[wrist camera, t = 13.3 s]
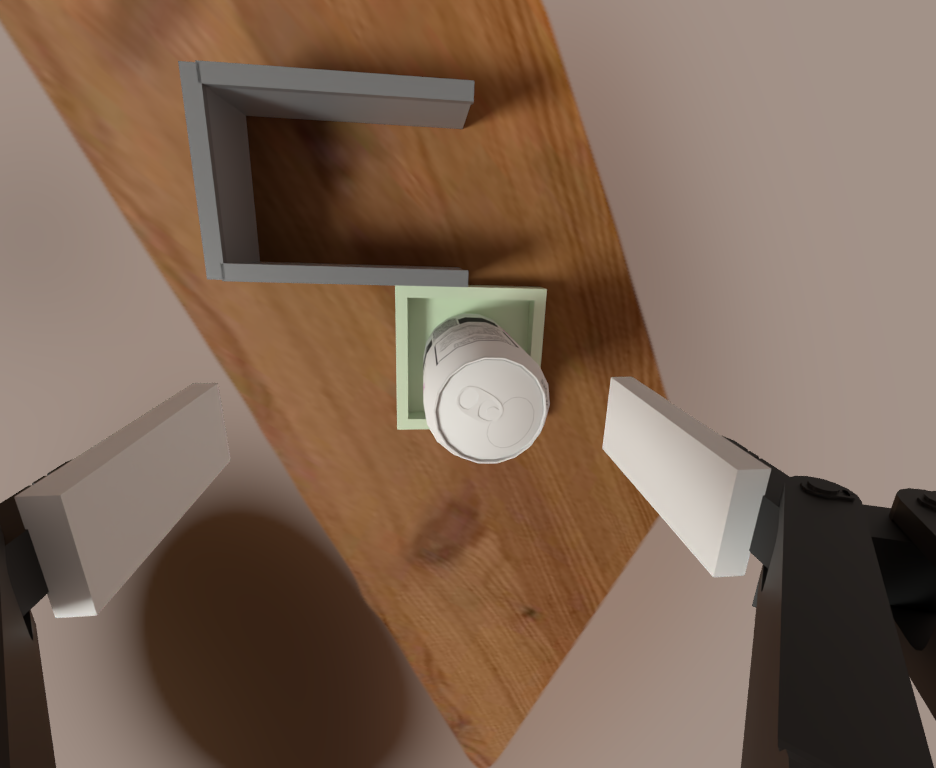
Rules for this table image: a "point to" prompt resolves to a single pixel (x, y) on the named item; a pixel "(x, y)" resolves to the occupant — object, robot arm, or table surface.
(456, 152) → the table surface
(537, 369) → the supplement can
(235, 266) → the dock
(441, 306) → the tray
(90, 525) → the robot arm
